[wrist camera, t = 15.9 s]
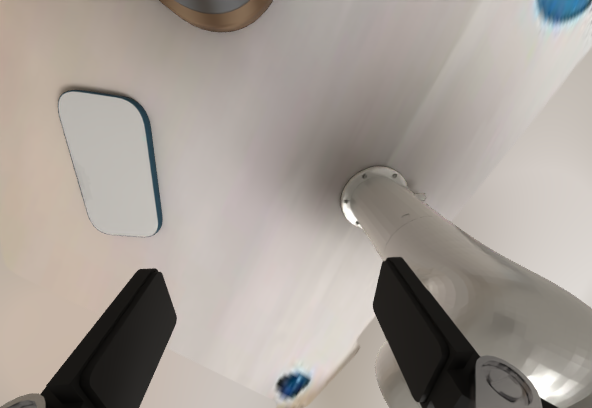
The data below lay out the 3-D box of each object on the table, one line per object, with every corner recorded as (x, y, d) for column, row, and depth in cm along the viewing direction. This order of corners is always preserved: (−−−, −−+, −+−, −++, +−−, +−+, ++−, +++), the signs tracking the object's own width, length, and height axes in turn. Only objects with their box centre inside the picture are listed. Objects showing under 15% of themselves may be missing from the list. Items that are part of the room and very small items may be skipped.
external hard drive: (166, 233, 43) (161, 239, 41) (100, 228, 41) (92, 234, 40) (149, 99, 33) (142, 99, 31) (61, 86, 31) (48, 85, 30)
